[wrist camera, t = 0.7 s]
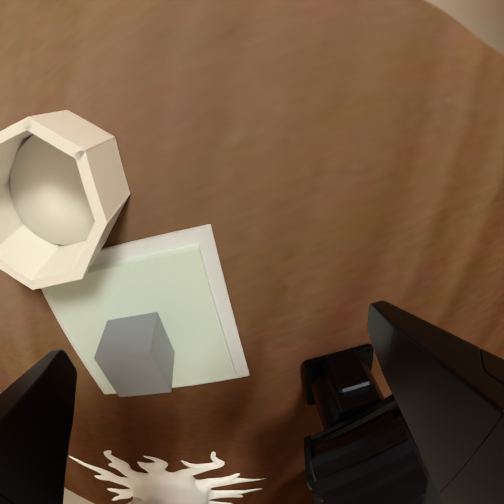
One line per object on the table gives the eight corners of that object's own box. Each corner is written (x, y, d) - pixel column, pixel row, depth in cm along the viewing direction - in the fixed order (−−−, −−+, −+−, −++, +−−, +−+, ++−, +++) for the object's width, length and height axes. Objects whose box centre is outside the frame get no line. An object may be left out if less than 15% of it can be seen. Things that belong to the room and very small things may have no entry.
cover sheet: (235, 370, 26) (241, 415, 22) (108, 387, 26) (99, 428, 22) (198, 243, 21) (196, 283, 16) (46, 277, 20) (18, 316, 16)
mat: (249, 372, 27) (249, 375, 27) (105, 391, 27) (104, 394, 26) (210, 223, 21) (210, 226, 20) (33, 265, 20) (31, 268, 20)
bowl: (142, 231, 20) (124, 270, 16) (35, 259, 20) (4, 296, 16) (105, 95, 16) (72, 96, 12) (-4, 144, 16) (-49, 160, 11)
